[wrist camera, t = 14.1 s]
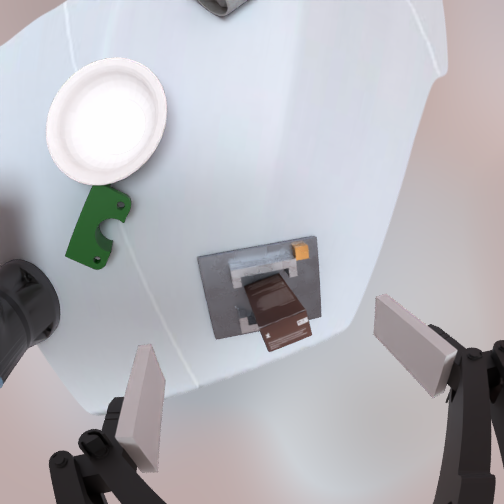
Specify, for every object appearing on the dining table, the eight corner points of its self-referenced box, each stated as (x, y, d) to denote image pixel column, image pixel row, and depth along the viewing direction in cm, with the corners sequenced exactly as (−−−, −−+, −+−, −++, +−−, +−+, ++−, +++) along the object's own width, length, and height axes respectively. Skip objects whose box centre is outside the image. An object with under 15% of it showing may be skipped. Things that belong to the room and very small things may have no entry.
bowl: (195, 136, 38) (194, 128, 30) (108, 203, 39) (87, 213, 31) (138, 56, 33) (124, 34, 25) (55, 124, 34) (27, 117, 26)
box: (252, 310, 46) (268, 354, 35) (243, 285, 45) (256, 325, 33) (288, 296, 46) (313, 336, 35) (280, 271, 45) (305, 306, 34)
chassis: (215, 336, 48) (216, 348, 44) (197, 256, 43) (197, 264, 40) (319, 314, 50) (326, 323, 46) (314, 235, 45) (322, 241, 42)
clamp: (111, 238, 45) (99, 279, 38) (80, 223, 42) (62, 263, 35) (140, 182, 39) (127, 221, 32) (104, 164, 36) (83, 200, 29)
